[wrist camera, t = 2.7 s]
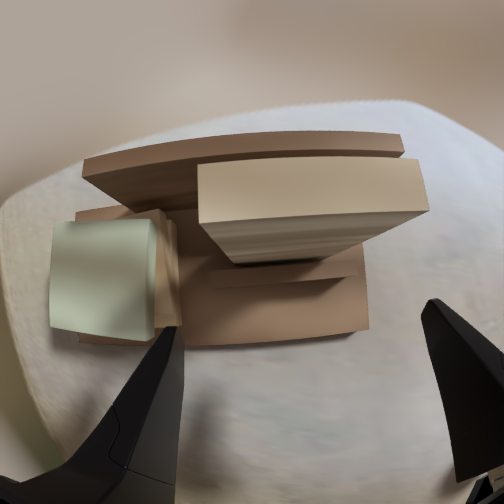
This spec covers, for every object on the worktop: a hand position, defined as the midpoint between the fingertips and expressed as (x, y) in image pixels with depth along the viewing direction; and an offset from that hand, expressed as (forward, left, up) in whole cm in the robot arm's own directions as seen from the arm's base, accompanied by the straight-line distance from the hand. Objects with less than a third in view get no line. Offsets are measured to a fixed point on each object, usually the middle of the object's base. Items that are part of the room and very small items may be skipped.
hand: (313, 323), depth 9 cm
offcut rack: (+5, +2, -11) cm, 13 cm away
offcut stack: (+9, +8, -10) cm, 15 cm away
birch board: (+3, -2, -10) cm, 11 cm away
